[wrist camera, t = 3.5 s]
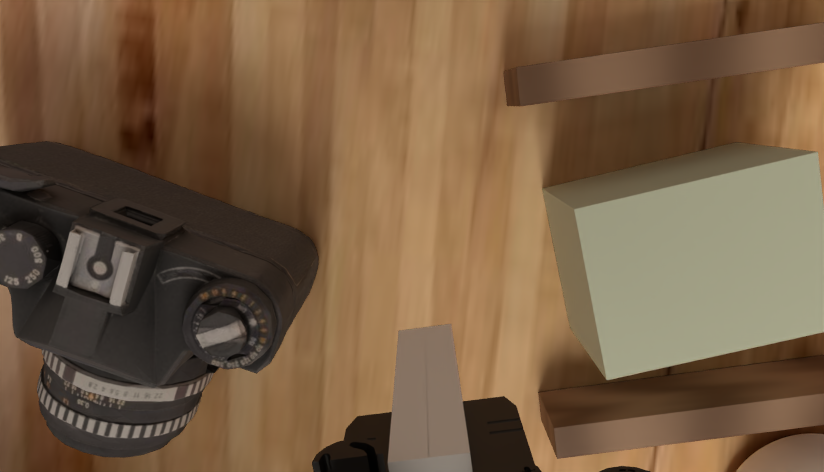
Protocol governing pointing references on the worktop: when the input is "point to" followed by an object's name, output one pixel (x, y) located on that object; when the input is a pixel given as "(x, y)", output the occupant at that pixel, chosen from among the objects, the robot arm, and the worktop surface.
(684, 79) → the pair of brown rails
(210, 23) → the worktop surface
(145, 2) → the worktop surface
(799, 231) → the block
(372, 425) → the robot arm
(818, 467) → the beverage can
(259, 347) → the camera
